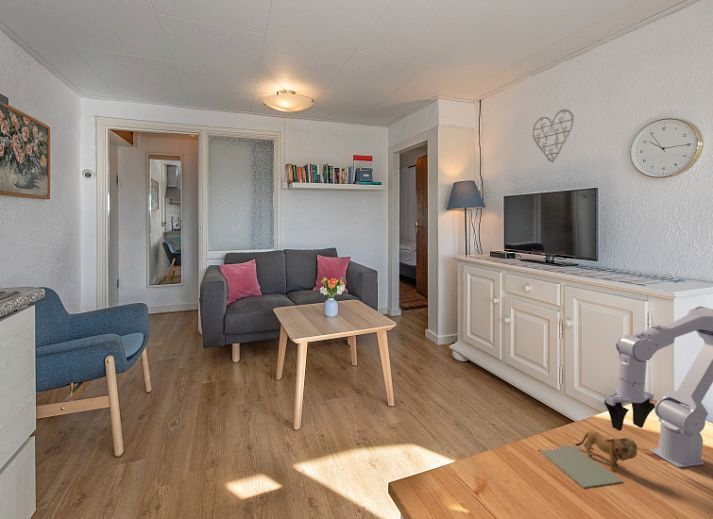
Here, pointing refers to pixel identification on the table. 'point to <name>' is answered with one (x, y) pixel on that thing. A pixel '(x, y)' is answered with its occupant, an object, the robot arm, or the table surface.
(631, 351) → the robot arm
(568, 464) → the mat
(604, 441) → the lion figurine
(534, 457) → the table surface
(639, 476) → the table surface
